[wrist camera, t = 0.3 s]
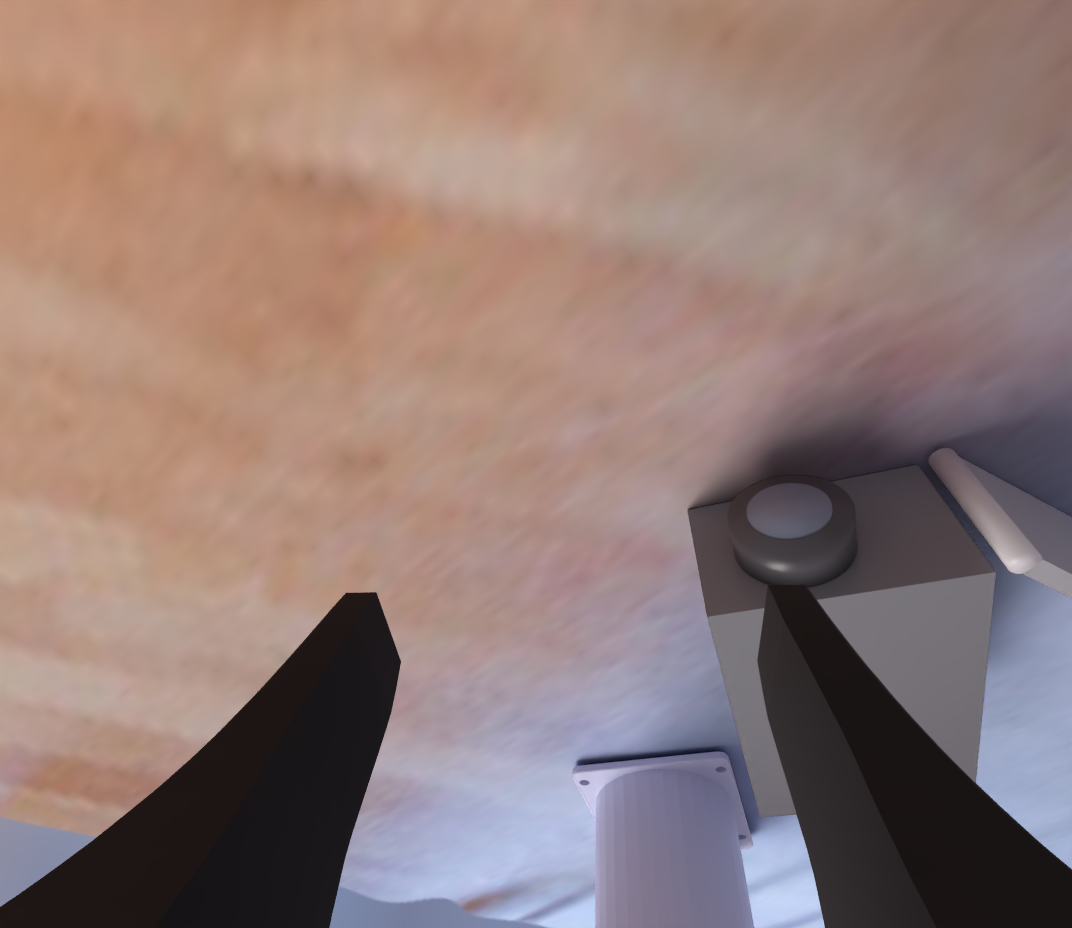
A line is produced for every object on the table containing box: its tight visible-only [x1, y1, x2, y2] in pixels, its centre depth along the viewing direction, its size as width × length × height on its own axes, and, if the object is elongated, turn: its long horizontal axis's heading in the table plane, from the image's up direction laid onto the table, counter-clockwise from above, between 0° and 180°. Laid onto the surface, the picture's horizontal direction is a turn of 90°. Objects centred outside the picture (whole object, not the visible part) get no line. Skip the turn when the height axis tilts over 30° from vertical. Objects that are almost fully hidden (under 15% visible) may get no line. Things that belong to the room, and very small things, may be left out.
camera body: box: [688, 464, 996, 817], centre depth 22 cm, size 14×8×6 cm, turn 19°
